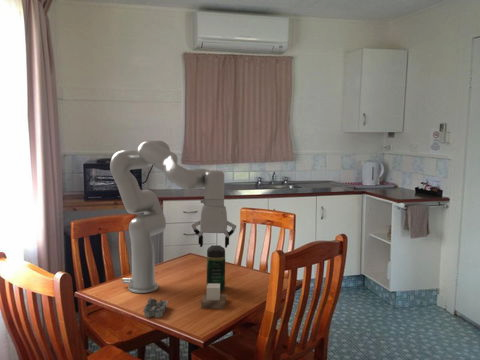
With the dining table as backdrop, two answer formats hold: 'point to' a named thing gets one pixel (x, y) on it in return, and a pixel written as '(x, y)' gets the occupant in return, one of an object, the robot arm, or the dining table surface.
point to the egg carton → (155, 308)
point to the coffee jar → (216, 265)
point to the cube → (213, 291)
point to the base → (213, 302)
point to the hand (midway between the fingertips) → (213, 246)
